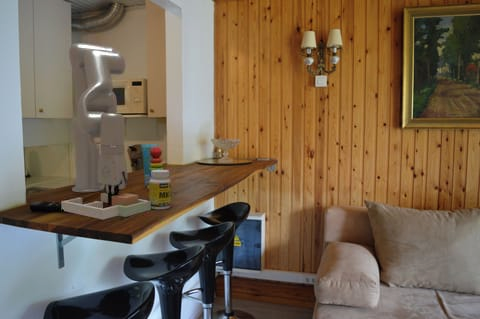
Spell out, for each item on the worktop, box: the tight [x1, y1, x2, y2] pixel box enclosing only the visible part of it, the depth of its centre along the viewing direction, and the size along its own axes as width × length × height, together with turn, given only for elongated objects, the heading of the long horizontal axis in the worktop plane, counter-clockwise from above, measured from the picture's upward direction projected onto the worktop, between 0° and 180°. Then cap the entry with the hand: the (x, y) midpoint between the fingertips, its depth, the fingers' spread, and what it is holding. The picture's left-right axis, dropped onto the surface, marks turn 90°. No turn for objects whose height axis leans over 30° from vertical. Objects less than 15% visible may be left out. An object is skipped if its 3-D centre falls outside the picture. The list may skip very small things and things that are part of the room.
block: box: [111, 192, 140, 207], centre depth 120 cm, size 6×6×5 cm
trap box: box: [61, 192, 152, 221], centre depth 121 cm, size 24×17×3 cm
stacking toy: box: [147, 146, 164, 190], centre depth 158 cm, size 8×8×19 cm
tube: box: [140, 143, 159, 187], centre depth 168 cm, size 7×5×19 cm, turn 109°
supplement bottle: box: [148, 169, 172, 210], centre depth 125 cm, size 7×7×13 cm
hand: (113, 204), depth 123 cm, fingers closed
